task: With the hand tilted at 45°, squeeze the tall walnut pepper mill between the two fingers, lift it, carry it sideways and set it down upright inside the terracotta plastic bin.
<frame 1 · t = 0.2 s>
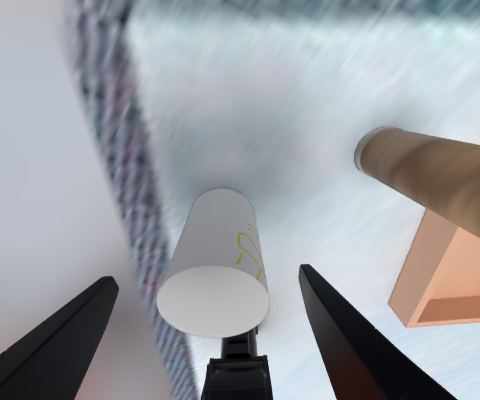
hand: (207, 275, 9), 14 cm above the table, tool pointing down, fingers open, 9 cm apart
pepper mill: (378, 151, 21), on the table
light grey cylinder: (222, 216, 25), on the table
bin: (474, 255, 29), on the table
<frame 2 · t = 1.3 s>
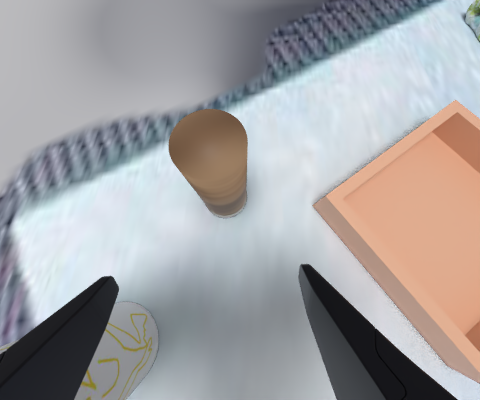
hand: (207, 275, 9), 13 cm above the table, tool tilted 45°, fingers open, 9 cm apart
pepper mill: (226, 197, 24), on the table
light grey cylinder: (121, 343, 21), on the table
bin: (434, 224, 23), on the table
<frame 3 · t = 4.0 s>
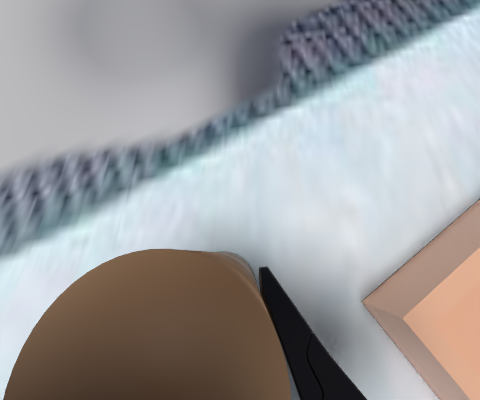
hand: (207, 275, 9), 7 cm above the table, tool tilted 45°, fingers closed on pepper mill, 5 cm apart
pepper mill: (222, 285, 15), on the table, touching gripper
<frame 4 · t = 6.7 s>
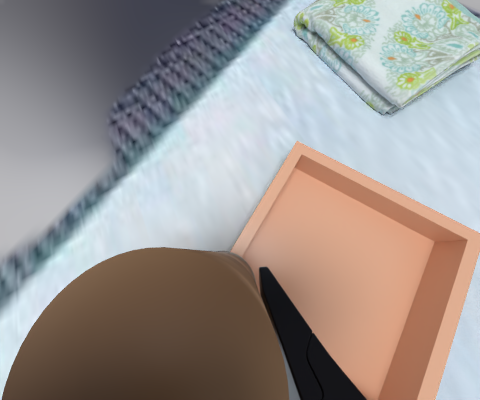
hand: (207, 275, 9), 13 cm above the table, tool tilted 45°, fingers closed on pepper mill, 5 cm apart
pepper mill: (222, 285, 15), point 7 cm above the table, touching gripper
towel: (376, 50, 31), on the table
bin: (326, 268, 22), on the table
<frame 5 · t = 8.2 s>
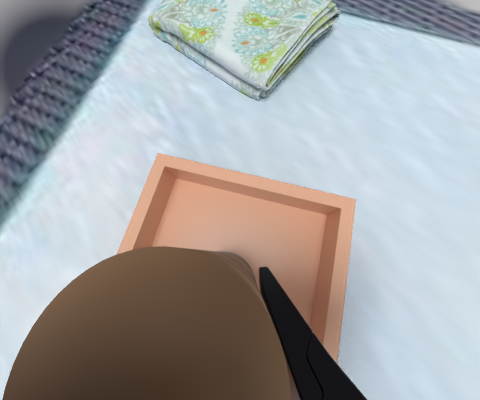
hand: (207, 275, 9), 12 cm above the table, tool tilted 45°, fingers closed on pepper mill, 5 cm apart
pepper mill: (222, 285, 15), point 5 cm above the table, touching gripper
towel: (244, 36, 30), on the table
bin: (228, 275, 21), on the table
when the fingers open (8 cm above the table, at t = 9.3 s): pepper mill drops 1 cm, resting on bin.
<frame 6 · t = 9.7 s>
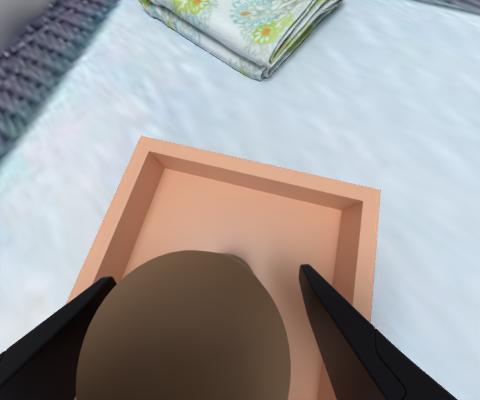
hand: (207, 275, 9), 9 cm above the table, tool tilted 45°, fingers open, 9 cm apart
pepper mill: (224, 284, 17), point 1 cm above the table, touching bin
towel: (244, 13, 27), on the table
bin: (225, 282, 17), on the table
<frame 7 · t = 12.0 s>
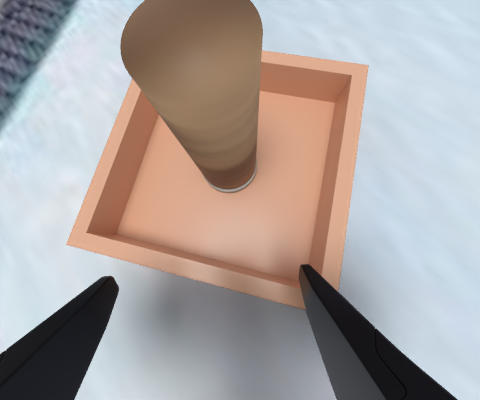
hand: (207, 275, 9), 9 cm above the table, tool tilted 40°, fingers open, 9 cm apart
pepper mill: (229, 167, 19), point 1 cm above the table, touching bin
bin: (230, 168, 20), on the table
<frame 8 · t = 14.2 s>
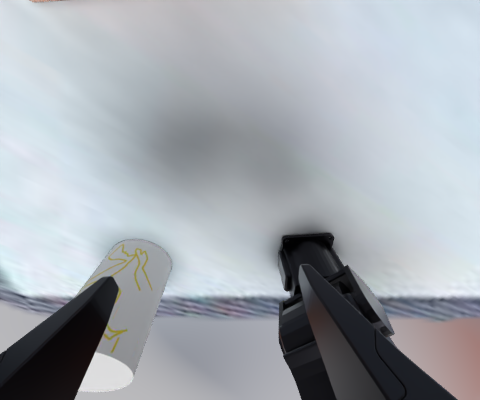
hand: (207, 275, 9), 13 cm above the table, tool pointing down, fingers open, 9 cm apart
light grey cylinder: (142, 261, 27), on the table
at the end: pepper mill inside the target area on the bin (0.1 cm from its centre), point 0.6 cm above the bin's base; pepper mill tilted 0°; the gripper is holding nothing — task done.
